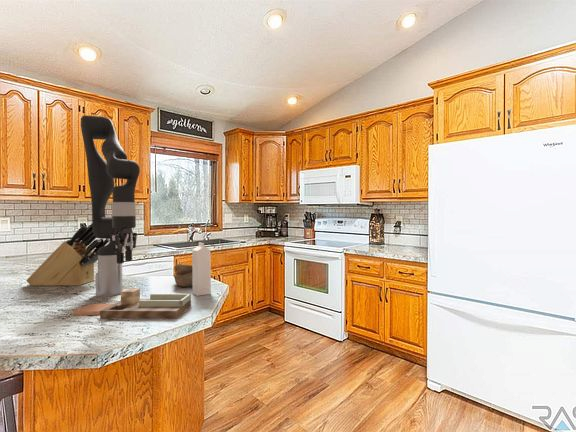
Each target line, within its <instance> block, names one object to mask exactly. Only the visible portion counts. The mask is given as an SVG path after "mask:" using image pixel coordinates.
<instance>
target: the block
mask: <svg viewBox="0 0 576 432" xmlns="http://www.w3.org/2000/svg"><path fill="white" fill-rule="evenodd" d="M140 291H141V290H140V288H133V287H132V288H126V289H122V291H121V294H120V301H121V304H135V303H137V302H138V301H139V300H140V299H141V297H140Z"/></svg>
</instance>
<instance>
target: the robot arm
mask: <svg viewBox="0 0 576 432" xmlns="http://www.w3.org/2000/svg"><path fill="white" fill-rule="evenodd" d="M80 131H81V135H82V140H83V147H84V151H85V158H86V167H87V169H86V170H87V180H88V186H89V192H90V199H91V200H90V201H91V202H90V203H91V224H92V227H93V233H94V235H95V237H96V239H99V240H100V239H103V240H106V239H110V241H109V242H108V243H107V244H106V245H105V246H104V247H101V248H99V249H98V260H97V272H95V296H98V297H110V296H111V297H112V296H116V295H117V296H118V295H121V291H123V290H124V289H123V264H124V263H125V262H131V261H132V260H133V251H134V249H136V248H137V237H138V233H137V232H133V229H135V228H136V226H137V225H136V223H137V217H136V216H137V215H136V212H137V211H136V201H135V200H136V199H135V191H136V186H137V183H138V179H139V176H140V172H141V169H140V168H141V167H140V165H139V164H138V162H136V160H132V159H131V160H130V159H128V156H127V154H126V151H125V150H124V149H123V147H122V146H121V144H120V141H119V138H118V133H117V132H116V129H115V126H114V124H113V121H112V120H111V119H110V117H107V116H101V115H99V116H98V115H87V114H86V115H82V116H81V117H80ZM94 140H104V141H103V142H102V143H101V148H100V149H101V153H102V155H103V157H104V158H103V157H102V155H101V154H100V153H99V151H98V149H97V147H96V144H95V142H94ZM115 180H126V182H125V183H124V184H122V185H115ZM111 196H112V206H111V217H106V207H107V203H108V201H109V200H110V198H111Z"/></svg>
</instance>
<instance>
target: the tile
mask: <svg viewBox="0 0 576 432" xmlns="http://www.w3.org/2000/svg"><path fill="white" fill-rule="evenodd" d="M113 304H114V303H89V304H88V305H84V306H83V307H80V308H77V309H76V310H73V316H80V315H81V316H82V315H83V316H85V315H87V316H100V311H101V310H103V309H105V308H107V307H109V306H111V305H113Z"/></svg>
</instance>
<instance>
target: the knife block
mask: <svg viewBox="0 0 576 432" xmlns="http://www.w3.org/2000/svg"><path fill="white" fill-rule="evenodd" d="M109 242H110V239H99V238H96V237H95V235H94V233H93V227H92V223H90V225H88V226H86V225H82V226H81V227H80V228H78V230H77V231H76V232H75V233H74V234H73V235H72V237H71V238H70V239H68V240H65V241H63V242H62V243H61V244H60V245H59V246H58V247H57V248H55V250H54V251H52V253H51V254H50V255H49V256H48V257H47V258H46V259H45V260H44V261H43V262H42V263H41V265H39V266H38V267H37V268H36V269H35V270H34V271H33V273H32V274H31V275H29V277H28V278H27V279H26V280H25V281H26V283H28V285H30V286H34V287H38V286H77V287H78V286H82V285H84V284H87V283H90V282H93V281H94V280H95V279H94V278H95V263H96V262H98V249H99V248H101V247H104V246H106V245H108V244H109Z"/></svg>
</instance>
